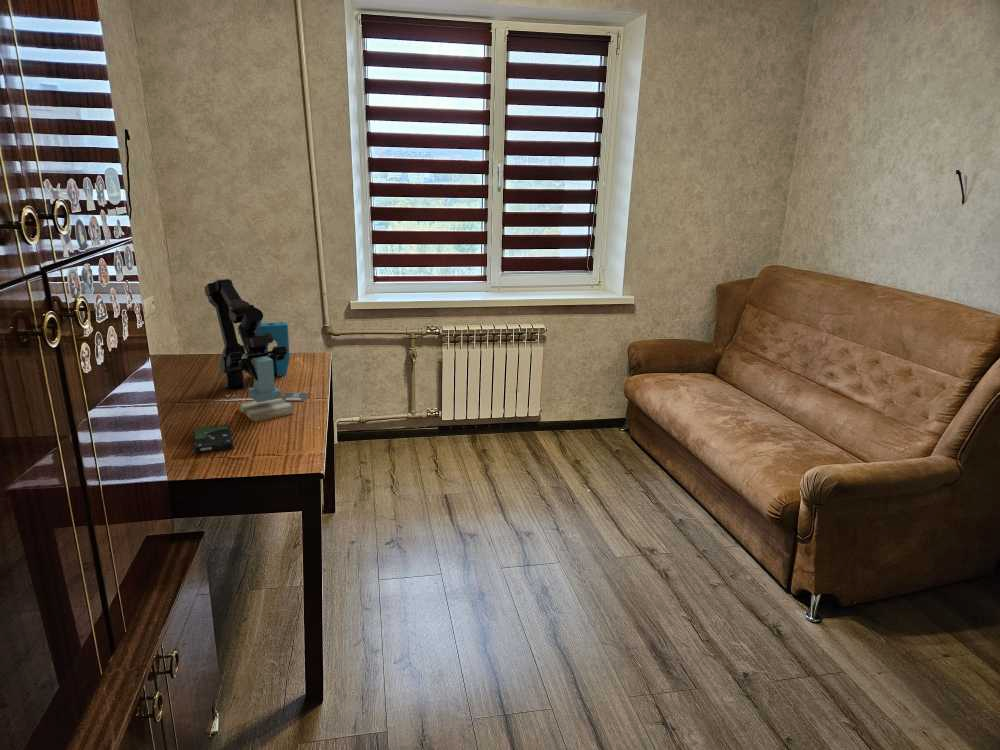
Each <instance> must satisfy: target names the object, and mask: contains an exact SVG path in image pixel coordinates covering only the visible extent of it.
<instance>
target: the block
mask: <svg viewBox="0 0 1000 750" xmlns="http://www.w3.org/2000/svg"><path fill="white" fill-rule="evenodd" d="M257 331H258V333H259V336H260V335H261V336H264V334H266V333H271V334H272V337H273V342H275V343H276V344H277V345H276V346H282V345H284V346H285V347H286V348H287V351H288V352H287V354H286V356H285V358H284V359H283V360H279V361H276V363H275V365H274V375H275V374H277V377H282V376H286V375H287V373H288V368H289V363H290V360H291V359H290V358H291V357H290V355H291V354H290V341H289V339H290V338H289V324H288V322H287V321H283V322H281V321H279V322H261V324H260V327H259V328H258V329H257ZM268 351H269V345H267V349H266V350H265V352H268Z"/></svg>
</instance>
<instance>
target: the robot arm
mask: <svg viewBox="0 0 1000 750" xmlns="http://www.w3.org/2000/svg"><path fill="white" fill-rule="evenodd" d="M204 293H205V294H204V295H205V296H206V297H207V299H208V302H209V303H210V304H211V306H213V307H214V308H215V311H216V316H217V320H218V325H219V328H220V332H221V337H222V341H223V344H224V347H223V349H222V352H221V359H220V363H219V370H220V372H222V373H223V374H224V375H225V376H226V384H225V386H224V387H223V389H227V390H228V389H229V390H230V389H231V390H241V389H243V388H244V387H245V386H246V385H247V384H248V382H246V381H245V380H244V371H245V372H246V373H247V374H248V375H249V376H250V377H251V378H253V380H254V379H255V380H256V381H257V380H258V378H257V374H256V372H255V370H254V367H253V365H252V358H258V357H264V356H268V357H269V358H271V359H272V360H273V368H274V365H275V363H276V361H279V360H283V359H284V358H285V356H286V354H287V352H288V351H287V348H286V347H285V346H284V345H282V346H277V345H276V346H273V348H272V349H271V350H270V351H269V350H268V352H265V350H266V349H267V345H268V346H270V345H269V344H271V343H274V340H273V337H272V334H271V333H266V334H264V336H261V335H260V336H259V333H258V331H257V329H258V328H259V327H260V324H261V323H262V321H263V319H264V313H263V311H262V310H260V309H259V308H258V307H255V306H254V304H250V303H249V302H248V301H245V300H243V299H242V297H241V296H240V294H239V293H238V292H237V289H236V288H235V286H234V284H233V281H232V279H230V278H225V279H217V280H215V281H214V282H209V283H207V285H205V287H204ZM234 324H239V325H238V327H237V331H238V334H239V336H240V339H241V342H242V344H240V343H239V342H238V337H237V334H236V330H235V326H234Z"/></svg>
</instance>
